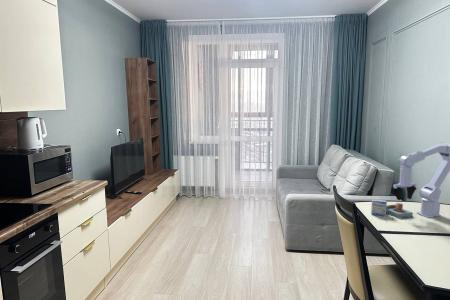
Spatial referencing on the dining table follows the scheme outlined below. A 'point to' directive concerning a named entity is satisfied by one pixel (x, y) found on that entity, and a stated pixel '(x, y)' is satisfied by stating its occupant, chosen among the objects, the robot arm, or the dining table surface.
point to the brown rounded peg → (399, 207)
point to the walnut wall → (391, 206)
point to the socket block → (399, 213)
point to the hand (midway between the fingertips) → (403, 199)
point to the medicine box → (378, 207)
